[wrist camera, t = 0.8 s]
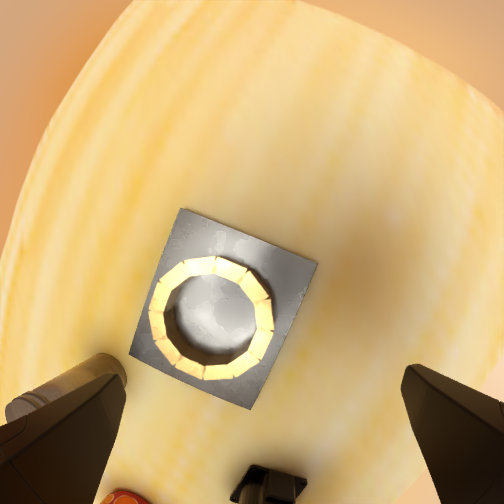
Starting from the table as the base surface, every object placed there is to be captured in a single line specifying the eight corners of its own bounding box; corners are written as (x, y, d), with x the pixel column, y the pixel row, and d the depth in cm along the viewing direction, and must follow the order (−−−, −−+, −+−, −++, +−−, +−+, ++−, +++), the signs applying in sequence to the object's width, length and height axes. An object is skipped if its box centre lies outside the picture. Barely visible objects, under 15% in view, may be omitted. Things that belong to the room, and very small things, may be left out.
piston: (122, 402, 27) (50, 469, 14) (85, 380, 27) (5, 432, 14) (132, 366, 26) (51, 429, 14) (93, 344, 27) (3, 388, 14)
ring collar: (251, 404, 26) (248, 424, 22) (133, 351, 26) (116, 362, 23) (316, 263, 25) (322, 265, 22) (184, 209, 26) (170, 203, 22)
